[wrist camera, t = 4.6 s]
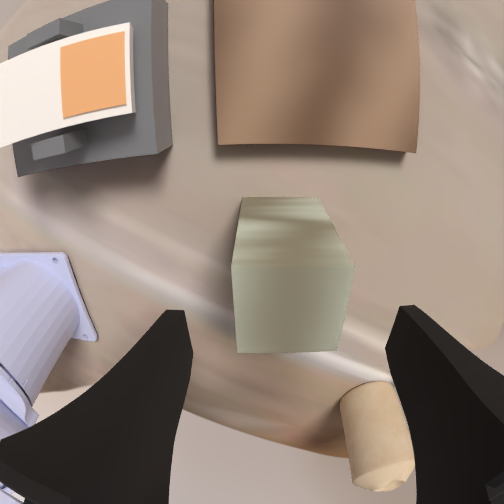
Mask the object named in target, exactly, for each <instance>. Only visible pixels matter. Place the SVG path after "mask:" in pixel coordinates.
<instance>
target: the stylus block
mask: <svg viewBox="0 0 504 504" xmlns="http://www.w3.org/2000/svg"><path fill="white" fill-rule="evenodd" d="M354 267H355V265H354V263H353V262H352V260H351V258H350V256H349V254H348V252H347V250H346V248H345V246H344V244H343V242H342V240H341V238H340V237H339V235H338V233H337V231H336V229H335V227H334V225H333V224H332V222H331V220H330V218H329V216H328V214H327V213H326V211H325V209H324V207H323V205H322V204H321V202H320V200H319V198H316V197H243V198H242V204H241V210H240V216H239V222H238V228H237V234H236V240H235V246H234V252H233V258H232V264H231V274H232V289H233V303H234V317H235V330H236V343H237V353H297V352H320V351H337V348H338V344H339V340H340V336H341V331H342V327H343V323H344V318H345V314H346V309H347V304H348V299H349V294H350V289H351V284H352V278H353V273H354Z"/></svg>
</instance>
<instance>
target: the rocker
mask: <svg viewBox="0 0 504 504" xmlns="http://www.w3.org/2000/svg"><path fill="white" fill-rule="evenodd" d="M135 112H136V108H135V91H134V65H133V27H132V25H131V24H130V22H128V23H123V24H118V25H113V26H109V27H104V28H100V29H96V30H92V31H88V32H84V33H81V34H77V35H74V36H70V37H67V38H64V39H61V40H58V41H55V42H52V43H49V44H46V45H43V46H41V47H38V48H35V49H33V50H30V51H28V52H25V53H23V54H21V55H18V56H16V57H14V58H12V59H9V60H7V61H5V62H3V63H1V64H0V148H1V147H4V146H7V145H9V144H12V143H15V142H18V141H21V140H24V139H27V138H30V137H33V136H36V135H39V134H43V133H46V132H50V131H53V130H57V129H60V128H64V127H68V126H72V125H76V124H80V123H84V122H89V121H93V120H98V119H102V118H107V117H112V116H118V115H123V114H129V113H135Z"/></svg>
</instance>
